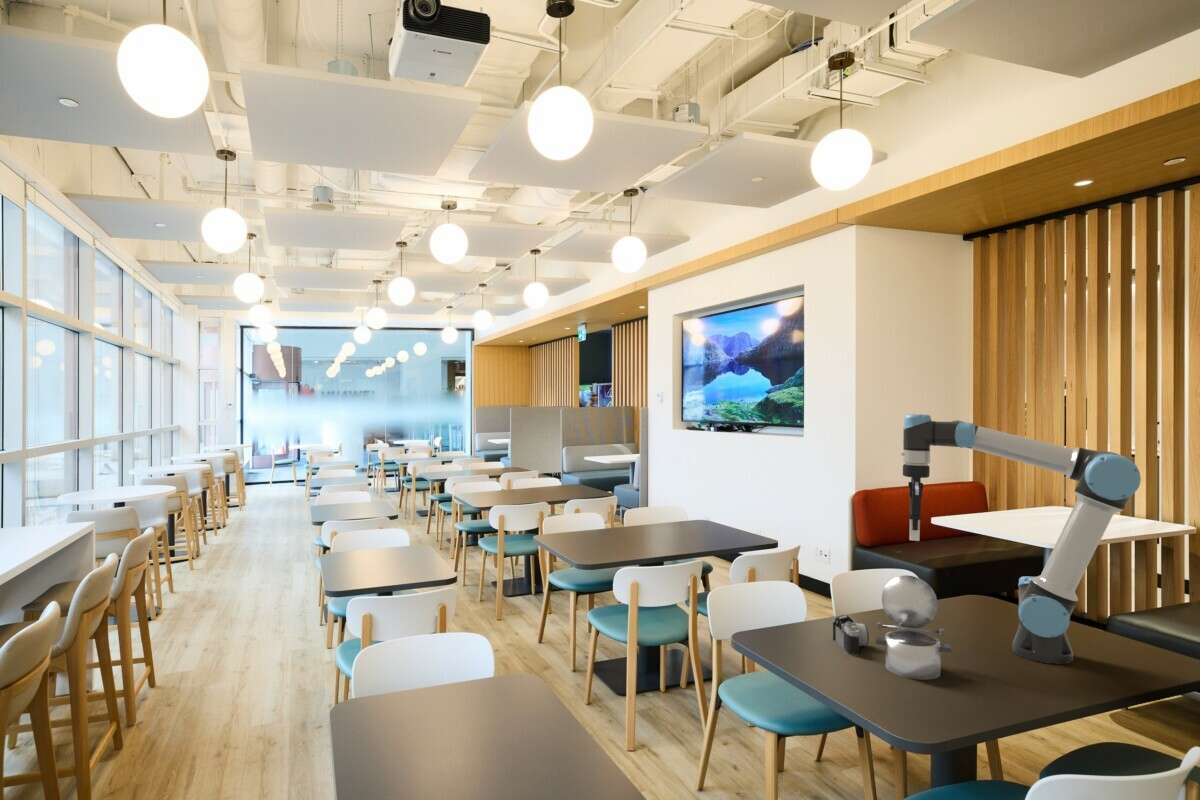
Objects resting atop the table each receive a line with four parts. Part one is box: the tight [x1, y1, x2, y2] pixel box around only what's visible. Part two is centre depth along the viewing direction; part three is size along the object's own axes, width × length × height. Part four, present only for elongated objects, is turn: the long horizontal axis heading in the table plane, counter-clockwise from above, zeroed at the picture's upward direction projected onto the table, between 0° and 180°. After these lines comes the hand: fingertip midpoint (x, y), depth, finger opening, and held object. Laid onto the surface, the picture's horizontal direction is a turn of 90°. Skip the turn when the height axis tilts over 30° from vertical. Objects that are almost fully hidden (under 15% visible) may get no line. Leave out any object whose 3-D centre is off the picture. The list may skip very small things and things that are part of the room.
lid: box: [881, 574, 940, 634], centre depth 199 cm, size 16×15×3 cm
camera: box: [832, 613, 870, 656], centre depth 207 cm, size 16×9×10 cm, turn 178°
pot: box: [875, 621, 952, 681], centre depth 189 cm, size 16×19×10 cm
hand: (914, 540), depth 207 cm, fingers closed
